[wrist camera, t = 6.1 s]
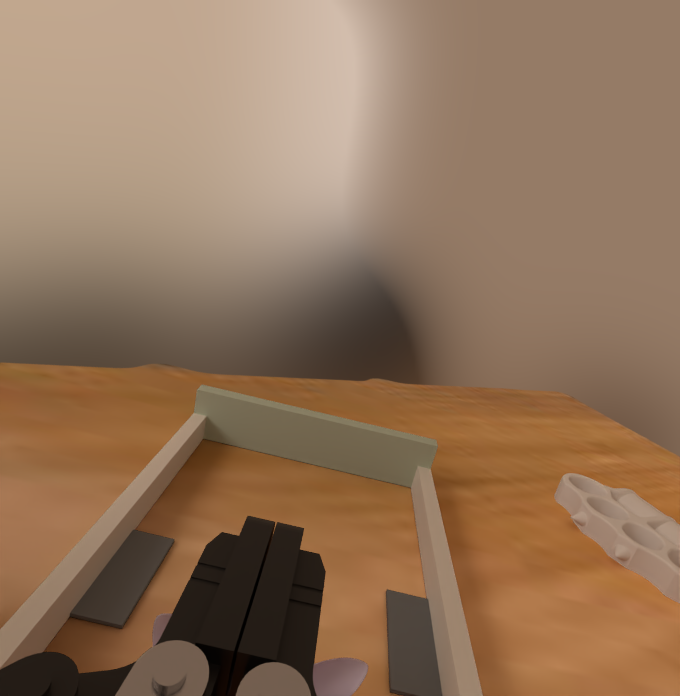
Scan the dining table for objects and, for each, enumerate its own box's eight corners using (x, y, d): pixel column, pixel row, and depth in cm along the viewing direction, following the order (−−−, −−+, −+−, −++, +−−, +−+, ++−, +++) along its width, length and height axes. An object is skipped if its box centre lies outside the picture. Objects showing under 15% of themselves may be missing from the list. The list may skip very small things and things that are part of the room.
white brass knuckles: (751, 599, 47) (664, 620, 41) (605, 491, 63) (528, 495, 57) (767, 575, 46) (680, 592, 40) (614, 471, 62) (537, 473, 56)
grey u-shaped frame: (600, 1437, 12) (705, 1384, 10) (-430, 1194, 12) (-509, 1097, 10) (421, 483, 53) (436, 440, 51) (195, 429, 53) (201, 384, 51)
